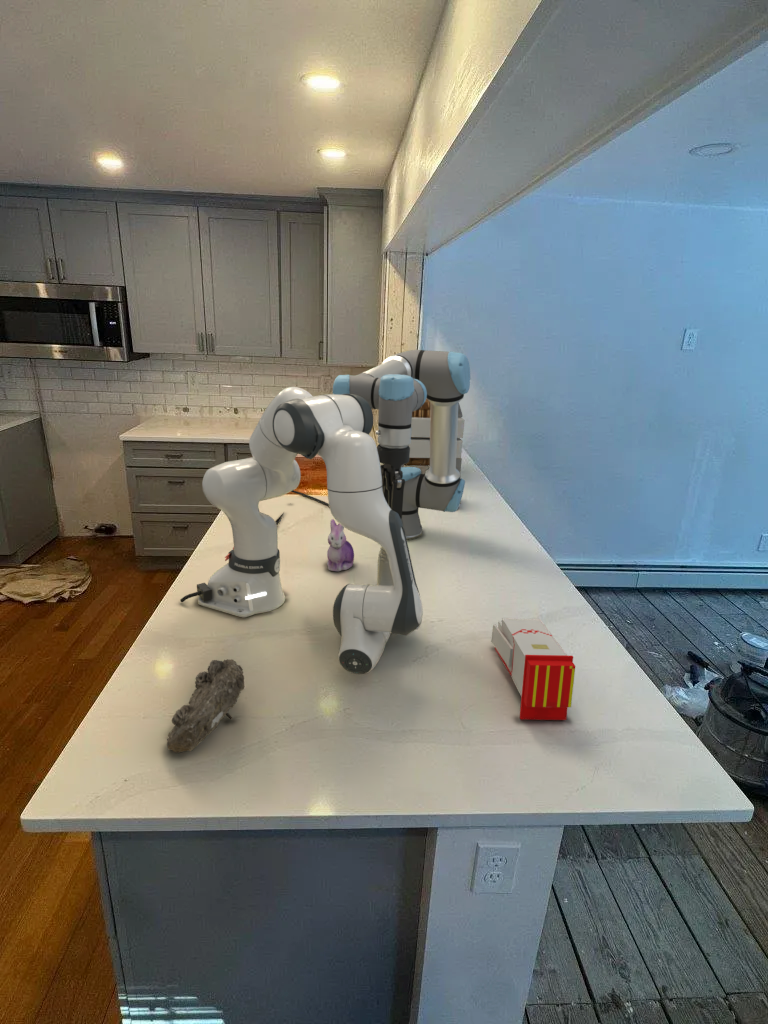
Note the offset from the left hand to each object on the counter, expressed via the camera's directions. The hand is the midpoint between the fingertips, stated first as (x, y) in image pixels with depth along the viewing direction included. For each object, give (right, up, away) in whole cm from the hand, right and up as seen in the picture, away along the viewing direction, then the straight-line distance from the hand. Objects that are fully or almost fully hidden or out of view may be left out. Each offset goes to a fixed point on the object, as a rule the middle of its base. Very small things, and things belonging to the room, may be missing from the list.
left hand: (386, 596), depth 143 cm
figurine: (-14, +5, +30) cm, 34 cm away
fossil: (-33, -18, -35) cm, 51 cm away
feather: (-39, +20, +68) cm, 81 cm away
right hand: (+1, +15, -6) cm, 16 cm away
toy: (+30, -15, -19) cm, 39 cm away
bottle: (0, -6, +1) cm, 6 cm away
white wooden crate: (+17, +40, +132) cm, 139 cm away
